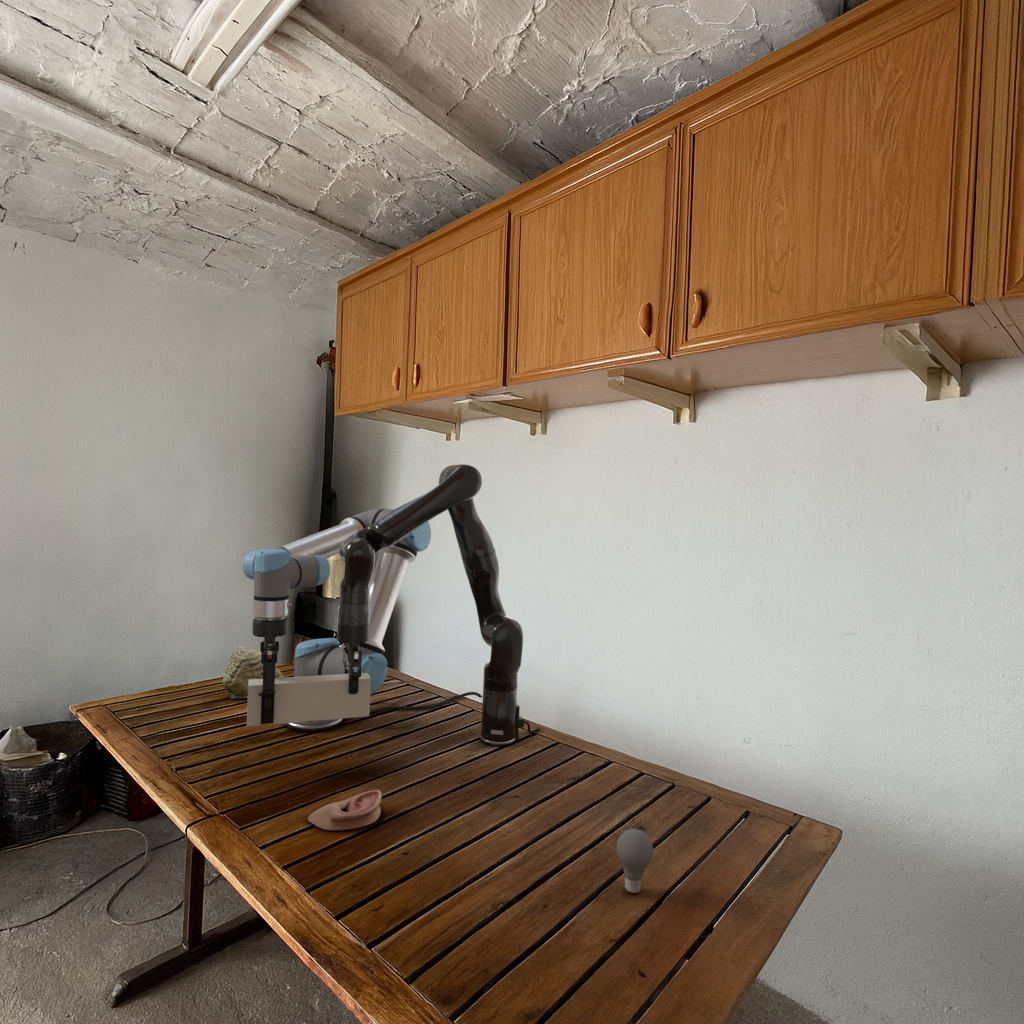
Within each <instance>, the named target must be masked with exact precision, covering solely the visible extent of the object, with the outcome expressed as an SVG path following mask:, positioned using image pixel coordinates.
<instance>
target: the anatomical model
mask: <svg viewBox="0 0 1024 1024" xmlns="http://www.w3.org/2000/svg"><path fill="white" fill-rule="evenodd" d="M382 799H383V795H382V791H381V790H380V789H372V790H368V791H365V792H362V793H358V794H355V795H353V796H351V797H349V798H346V799H343V800H341V801H336V802H331V803H327V804H325V805H323V806H321V807H319V808H318V809H316V810H315V811H313V812H311V813H310V814H309V815H308V817H307V821H308V822H309V823H311V824H313V825H314V826H316V827H317V828H320V829H322V830H325V831H344V830H345V831H347V830H352V829H353V830H354V829H359V828H362V827H365V826H368V825H371V824H373V823H375V822H376V821H378V820H379V818H380V815H381V807H380V805H381V802H382Z"/></svg>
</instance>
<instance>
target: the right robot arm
mask: <svg viewBox="0 0 1024 1024" xmlns="http://www.w3.org/2000/svg"><path fill="white" fill-rule="evenodd" d="M482 485H483V477H482V474H481V472H480V471H479V469H477V468H476V467H475V466H473V465H470V464H464V463H462V464H461V463H460V464H451V465H448V466H446V467H445V468H443V469H442V471H441V472H440V474H439V477H438V485H436V486H435V487H434V488H432V489H431V490H429V491H428V492H425V493H424V494H422V495H421V496H418V497H416V498H414V499H412V500H410V501H408V502H406V503H404V504H402V505H399V506H398V507H396V508H395V510H393V511H392V512H390V513H389V514H387V515H385V516H384V517H382V518H381V519H380V520H378V521H377V522H376V523H374V524H372V525H371V526H368V527H366V528H364V529H362V530H360V531H358V532H357V533H355V534H353V535H351V536H350V537H348V538H347V539H346V540H344V541H343V543H342V544H341V546H340V549H339V553H338V554H339V557H340V559H341V560H342V561H343V563H344V574H343V578H342V579H341V581H340V586H339V604H338V608H337V609H338V610H337V622H336V623H337V625H336V639H337V640H338V641H339V643H341V644H342V643H344V648H343V663H344V664H343V666H344V674H348V677H349V684H348V693H349V694H357V693H358V686H359V678H360V677H361V675H362V674H361V665H362V664H361V663H362V649H360V647H359V644H360V643H362V642H363V643H364V642H366V641H368V640H369V631H370V582H371V578H372V575H373V572H374V569H375V562H376V561H375V560H376V553H378V551H379V550H381V549H382V548H385V547H390V546H392V545H394V544H395V543H397V542H398V541H400V540H401V539H403V538H404V537H406V536H407V535H409V534H410V533H412V532H413V531H414V530H416V529H417V528H419V527H420V526H422V525H423V524H425V523H426V522H428V521H429V522H430V521H431V520H432V519H434V518H435V517H437V516H439V515H441V514H442V513H444V512H446V511H447V512H448V514H449V517H450V520H451V523H452V526H453V530H454V534H455V537H456V540H457V541H456V542H457V545H458V549H459V553H460V557H461V561H462V564H463V568H464V571H465V573H466V578H467V580H468V583H469V587H470V590H471V594H472V596H473V599H474V603H475V607H476V612H477V613H476V614H477V618H478V625H479V630H480V631H479V632H480V636H481V639H482V640H483V641H484V643H485V644H486V645H487V646H488V647H490V648H491V649H490V660H489V662H487V663H485V665H484V666H483V683H482V702H481V703H482V704H481V705H482V707H481V725H480V726H481V727H480V728H481V730H480V741H481V742H482V743H484V744H486V745H489V746H495V747H502V746H503V747H504V746H510V745H512V744H514V743H515V742H519V734H520V733H519V731H520V730H519V729H524V728H525V725H526V726H527V732H528V733H529V734H534V733H537V732H539V731H541V728H540V727H538V728H535V729H533V730H531V724H530V723H529V722H528V721H526V720H525V718H523V717H522V716H521V715H520V711H521V709H520V708H521V707H520V706H521V705H519V704H518V686H519V671H520V669H521V666H522V661H523V650H524V630H523V627H522V625H521V623H520V622H519V621H518V620H516V619H515V618H512V617H509V616H508V615H507V613H506V611H505V608H504V605H503V602H502V599H501V594H500V582H501V566H500V565H501V564H500V561H499V556H498V553H497V550H496V546H495V543H494V541H493V539H492V537H491V535H490V533H489V531H488V530H487V528H486V527H485V525H484V524H483V521H482V520H481V518H480V516H479V514H478V511H477V509H476V508H477V507H476V503H475V500H474V498H475V497H476V496H477V495H478V494H479V493H480V491H481V490H482V487H483V486H482ZM354 669H357V672H354Z"/></svg>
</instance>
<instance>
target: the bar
mask: <svg viewBox="0 0 1024 1024" xmlns="http://www.w3.org/2000/svg"><path fill="white" fill-rule="evenodd" d="M361 674H362V675H361V677H360V678H359V686H358V693H357V694H349V693H348V684H349V677H348V674H336V675H319V676H302V677H294V676H288V677H287V676H286V677H285V676H284V677H285V678H275V687H274V690H275V695H274V722H273V723H271V724H261V697H262V696H259V693H262V690H263V679H250V680H249V682H248V698H247V705H246V706H247V707H246V727H257V726H258V727H259V726H269V725H282V724H286V723H295V722H307V721H319V720H332V719H343V720H344V719H354V718H366V717H368V718H369V717H370V714H369V710H371V709H370V708H371V706H370V705H371V695H370V685H371V678H370V676H369V674H368V673H361Z"/></svg>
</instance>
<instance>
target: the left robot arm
mask: <svg viewBox="0 0 1024 1024" xmlns="http://www.w3.org/2000/svg"><path fill="white" fill-rule="evenodd" d="M395 509H396V508H395ZM395 509H392V508H375V509H374V508H373V509H369V510H367V511H364V512H360V513H357V514H355V515H352V516H349V517H346V518H343V520H342V521H341V522H340V523H339V524H337V525H335V526H332V527H329V528H327V529H324V530H321V531H318V532H315V533H313V534H309V535H307V536H306V537H303V538H299V539H297V540H295V541H292V542H289V543H285V544H283V545H281V546H278V547H274V548H264V549H260V550H253V551H250V552H248V554H246V556H245V557H244V559H243V562H242V570H243V574H244V575H245V577H246V578H248V579H249V580H253V599H252V617H254V618H253V619H252V631H251V632H252V635H253V636H254V637H257V638H264V639H263V641H260V647H259V648H260V651H261V663H262V664H263V677H262V679H263V690H262V693H259V696H262V697H261V724H271V723H273V722H274V695H275V690H274V687H275V665H276V664H277V663H278V654H279V653H278V652H279V651H280V642H279V640H278V641H277V640H276V638H278V637H284V636H286V635H287V634H288V631H289V628H288V627H289V626H288V625H289V619H288V618H287V617H288V615H289V607H292V603H291V602H290V601H289V599H290V590H293V589H302V588H311V587H312V588H314V587H316V586H320V585H323V584H325V583H326V582H327V581H328V580H329V578H330V575H331V566H330V563H329V560H328V558H330V557H334V556H336V555H337V554H339V549H340V546H341V544H342V543H343V541H344V540H346V539H347V538H348V537H350V536H351V535H353V534H355V533H357V532H358V531H360V530H362V529H364V528H366V527H368V526H371V525H372V524H374V523H376V522H377V521H378V520H380V519H381V518H382V517H384V516H385V515H387V514H389V513H390V512H392V511H393V510H395ZM431 539H432V529H431V525H430V520H429V521H428V522H426V523H425V524H423V525H422V526H420V527H419V528H417V529H416V530H414V531H413V532H412V533H410V534H409V535H407V536H406V537H404V538H403V539H401V540H400V541H398V542H397V543H395V544H394V545H392V546H390V547H385V548H382V549H381V550H379V551H377V553H378V554H379V555H378V558H377V561H376V564H375V565H374V568H373V573H372V578H371V582H370V631H369V640H368V641H366V642H364V643H363V642H362V643H360V644H359V647H360V649H362V663H361V664H362V665H361V673H368V674H369V676H370V678H371V685H370V696H372V695H373V694H374V693H376V692H377V691H379V690H380V688H381V687H382V686H383V684H384V682H385V681H386V679H387V676H388V669H389V667H388V660H387V658H386V657H385V652H386V649H385V648H384V645H383V640H384V638H385V635H386V632H387V629H388V625H389V622H390V619H391V616H392V614H393V610H394V608H395V605H396V602H397V598H398V596H399V593H400V589H401V588H402V587H401V586H402V584H403V581H404V577H405V574H406V571H407V568H408V565H409V564H411V563H413V562H414V561H415V560H416V558H417V555H418V553H419V552H423V551H425V550H426V549H427V548H428V547H429V544H430V543H431ZM340 644H341V645H340ZM343 648H344V643H342V642H339V641H338V640H337V637H336V638H335V637H324V638H323V637H322V638H313V639H308V640H304V641H302V642H299V643H298V644H297V645H296V647H295V652H294V653H295V654H294V657H293V658H294V660H293V662H294V663H293V665H294V666H293V677H302V676H319V675H336V674H344V666H343V664H344V663H343ZM354 672H357V669H354ZM468 696H476V697H478V698H479V699H480V698H482V699H483V695H482V694H481V693H478V692H477V691H468V692H464V693H461V694H458V695H454V696H451V697H448V698H447V699H445V700H444V701H440V702H436V703H430V704H426V705H424V704H423V705H410V706H408V705H390V706H383V707H379V708H373V709H370V710H369V715H370V714H375V713H379V712H383V711H389V710H390V711H391V710H407V711H408V710H411V711H412V710H413V711H414V710H424V709H425V710H426V709H432V708H436V707H440V706H443V705H446V704H448V703H450V702H451V701H454V700H457V699H461V698H464V697H468ZM343 722H344V719H332V720H319V721H307V722H295V723H285V726H286V728H287V729H289V730H291V731H294V732H295V731H296V732H301V733H316V732H325V731H329V730H332V729H335V728H337V727H339V726H340V725H342V723H343ZM271 725H272V724H271Z"/></svg>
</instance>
